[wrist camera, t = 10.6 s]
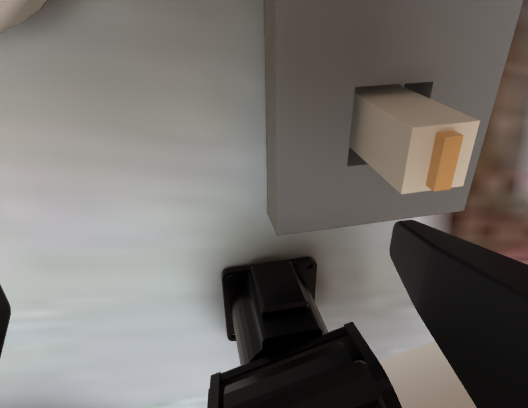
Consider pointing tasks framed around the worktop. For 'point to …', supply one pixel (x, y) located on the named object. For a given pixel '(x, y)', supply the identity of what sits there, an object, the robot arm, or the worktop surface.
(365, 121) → the plug
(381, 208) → the jack panel
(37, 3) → the saucepan
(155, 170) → the worktop surface
